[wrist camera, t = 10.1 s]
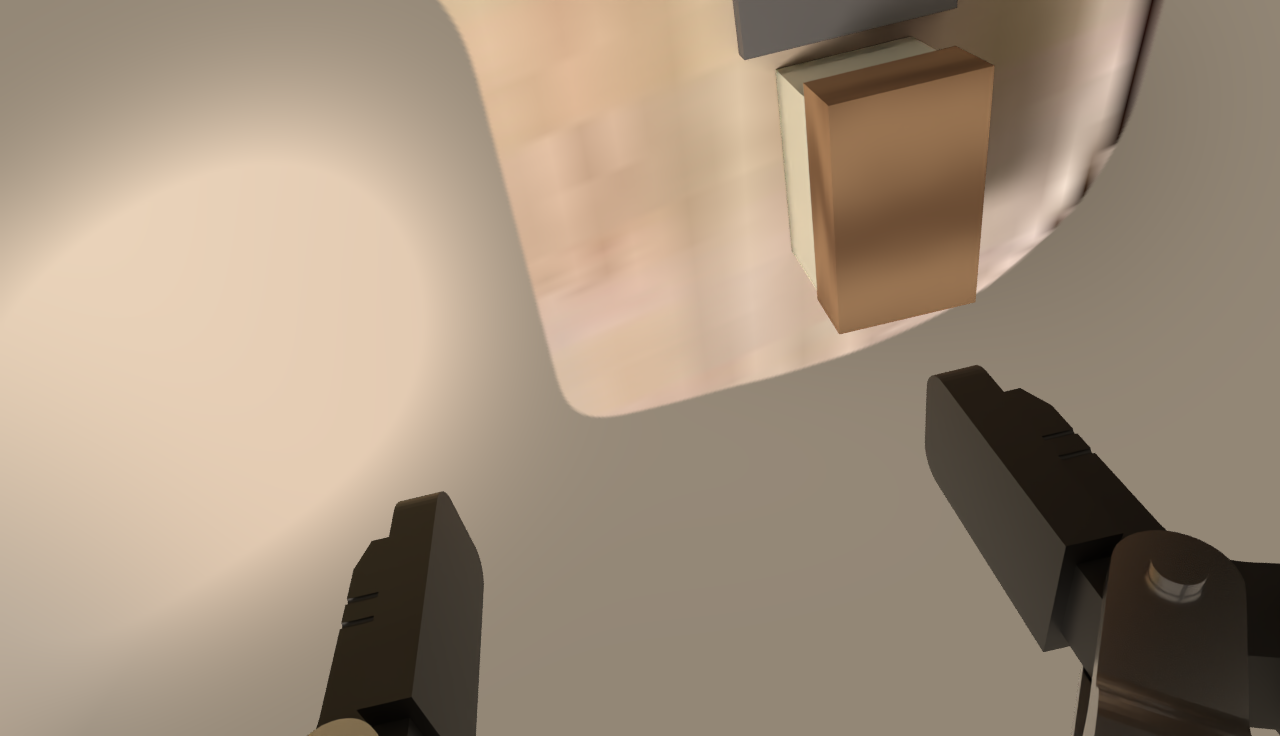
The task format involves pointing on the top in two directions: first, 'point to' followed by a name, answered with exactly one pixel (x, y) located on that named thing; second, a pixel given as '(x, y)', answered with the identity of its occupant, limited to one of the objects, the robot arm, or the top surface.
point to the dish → (796, 133)
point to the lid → (898, 185)
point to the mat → (818, 20)
